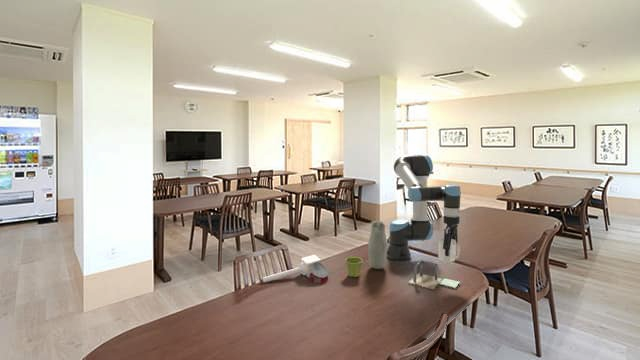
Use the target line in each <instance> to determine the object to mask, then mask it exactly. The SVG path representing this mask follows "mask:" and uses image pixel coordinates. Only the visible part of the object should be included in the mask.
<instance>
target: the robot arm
mask: <svg viewBox="0 0 640 360" xmlns="http://www.w3.org/2000/svg"><path fill="white" fill-rule="evenodd" d="M433 170H434V165H433V161H432V158H431V156H429V155H425V154H415V155H414V154H411V155H409V154H405V155H402V156H399V157H398V158H397V159H396V160H395V162H394V163H393V171H394V173H395V175H396V176H398V177H400V179H401V180H402V182H403V183H404V184H403V185H405V186H406V188H407V197H408V200H409V201H410V202H412V217H411V218H410V222H409V220H407V219H396V220H392V221H391V222H390V223H389V229H388V230H389V244H388V246H387V257H386V259H389V260H393V261H400V262H401V261H408V260H410V259H411V257H412V255H411V249H410V248H409V242H410V241H411V242H412V241H413V242H414V241H423V242H424V241H428V240H431V238H432V237H433V234H434V224H433V223H432V221H430V218H429V217H428V202H439V201H440V202H441V201H442V202H443V217H442V218H443V221H442V222H443V224H446V228H444V229H443V230H444V231H443V232H444V234H443V238H444V243H443V249H445V254H444V261H443V262H445V263H451V262H450V254H451V249H450V245H451V239H454V240H456V243H458V241H459V240H458V225H459V224H460V213H461V211H462V210H461V209H460V208H461V195H462V194H461V186H460V185H458V184H445V185H436V186H428V178H429V177H430V174H432V172H433ZM456 246H457V244H456ZM455 255H456V256H457V250H456V251H455Z"/></svg>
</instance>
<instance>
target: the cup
mask: <svg viewBox="0 0 640 360" xmlns="http://www.w3.org/2000/svg"><path fill="white" fill-rule="evenodd" d="M443 243H444V237H440V238H438V244H437V245H438V248H437V250H438V252H437V253H438V255H437V258H438V260H439V261H441V262H444V254H445V249H443ZM456 244H457V245H456ZM450 249H451V254H450V263H452V262H455V261H456V259H458V258H459V257H460V251H461V249H460V244H459V243H458V242H457V243H456V240H454V239H451V245H450ZM455 251H456V255H455Z"/></svg>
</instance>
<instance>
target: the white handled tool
mask: <svg viewBox="0 0 640 360" xmlns="http://www.w3.org/2000/svg"><path fill="white" fill-rule="evenodd" d="M300 259H301V262H300V264H299V267H295V268H292V269H288V270H285V271H280V272H277V273H274V274H270V275H267V276H263V277H262V281H263V283H264V284H265V283H268V282H272V281H276V280H278V279H282V278H286V277H289V276H293V275H297V274H300V273H302V275H303V276H306V277H307V278H308V277H309V278H310V273H311V272H310V265H312V264H313V263H315V262H322V260H321V258H319V257H318V256H317V255H316V254H312V255H308V256H304V257H301V258H300Z"/></svg>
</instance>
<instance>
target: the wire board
mask: <svg viewBox="0 0 640 360" xmlns="http://www.w3.org/2000/svg"><path fill="white" fill-rule="evenodd" d="M413 278H414V276H413V277H412V278H411V279H410V280H409V281H407V282H408V283H407V284H409V285H412V284H413V285H412V286H416V285H417V287H420V286H422V287H421V288H423V287H426V288H425V289H427V288H430V289H429V290H431V289H434V288H435V287H436V286H437V285H438V284H439V283H440V282H441V281H442V280H443V278H440V277H438V280H435V276H432V275H428V274H424V273H423V276H420V272H418V273H416V282H414V281H413ZM438 286H439V285H438ZM438 286H437V287H438ZM437 287H436V288H437ZM436 288H435V289H436ZM435 289H434V290H435Z"/></svg>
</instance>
